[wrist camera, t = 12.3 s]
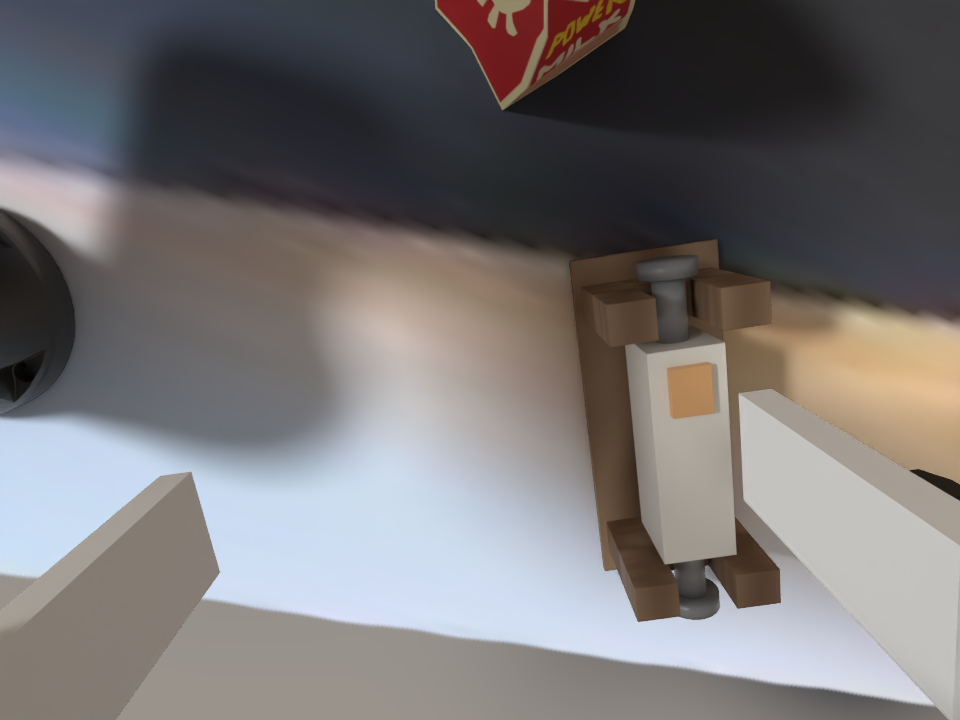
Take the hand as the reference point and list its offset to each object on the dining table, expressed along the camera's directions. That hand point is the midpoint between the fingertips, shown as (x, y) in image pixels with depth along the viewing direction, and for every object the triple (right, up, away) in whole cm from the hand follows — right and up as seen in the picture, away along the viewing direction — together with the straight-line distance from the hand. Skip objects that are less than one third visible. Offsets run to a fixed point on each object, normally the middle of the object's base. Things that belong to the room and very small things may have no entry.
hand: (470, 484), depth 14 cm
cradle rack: (+13, -1, +30) cm, 33 cm away
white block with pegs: (+13, -2, +28) cm, 31 cm away
